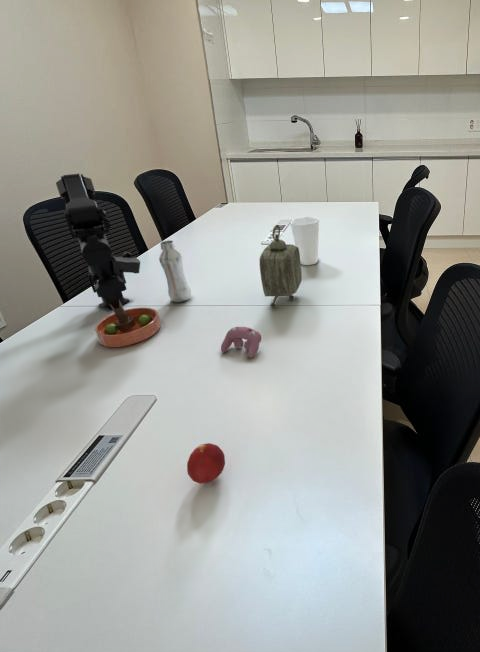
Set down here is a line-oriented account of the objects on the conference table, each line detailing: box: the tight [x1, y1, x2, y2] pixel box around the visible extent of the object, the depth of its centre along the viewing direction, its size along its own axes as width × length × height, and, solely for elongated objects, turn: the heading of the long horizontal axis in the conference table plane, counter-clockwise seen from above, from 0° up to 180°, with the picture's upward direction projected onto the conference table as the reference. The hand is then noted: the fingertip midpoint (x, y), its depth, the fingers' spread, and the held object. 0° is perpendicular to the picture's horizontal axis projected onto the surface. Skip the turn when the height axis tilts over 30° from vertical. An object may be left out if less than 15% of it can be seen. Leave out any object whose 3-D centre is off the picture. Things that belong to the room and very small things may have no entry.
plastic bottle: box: [158, 240, 192, 303], centre depth 123 cm, size 6×7×20 cm
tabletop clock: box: [259, 224, 303, 309], centre depth 120 cm, size 14×9×25 cm, turn 178°
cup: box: [289, 216, 320, 266], centre depth 151 cm, size 11×10×17 cm
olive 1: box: [105, 324, 118, 335], centre depth 107 cm, size 3×3×3 cm
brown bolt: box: [110, 301, 136, 331], centre depth 106 cm, size 4×4×14 cm
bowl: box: [94, 307, 162, 348], centre depth 108 cm, size 15×15×4 cm
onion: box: [186, 442, 226, 484], centre depth 64 cm, size 6×6×8 cm
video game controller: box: [220, 326, 262, 359], centre depth 100 cm, size 10×5×7 cm, turn 71°
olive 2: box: [138, 315, 150, 325], centre depth 111 cm, size 3×3×3 cm
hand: (116, 306), depth 106 cm, fingers closed on brown bolt, 2 cm apart
